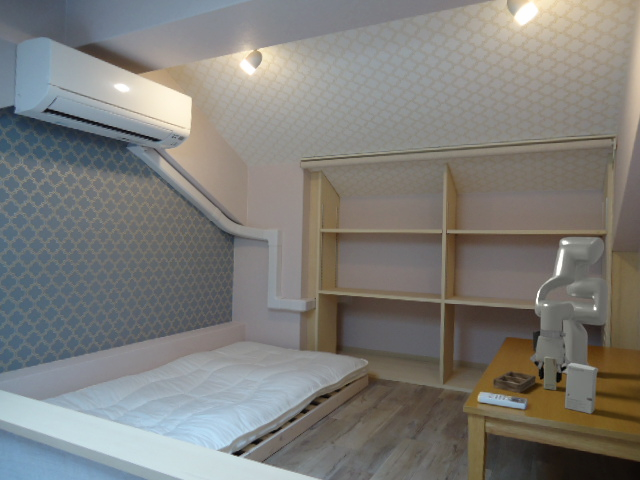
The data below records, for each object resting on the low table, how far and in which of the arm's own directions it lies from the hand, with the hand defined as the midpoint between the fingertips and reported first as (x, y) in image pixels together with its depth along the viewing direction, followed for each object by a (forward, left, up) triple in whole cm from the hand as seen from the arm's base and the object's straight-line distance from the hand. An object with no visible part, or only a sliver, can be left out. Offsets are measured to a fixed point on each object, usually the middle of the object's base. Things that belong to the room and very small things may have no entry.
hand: (550, 380), depth 184 cm
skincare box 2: (-15, +19, -3) cm, 24 cm away
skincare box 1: (0, 0, -3) cm, 3 cm away
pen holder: (+23, -69, -3) cm, 73 cm away
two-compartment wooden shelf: (+11, +7, -3) cm, 13 cm away
